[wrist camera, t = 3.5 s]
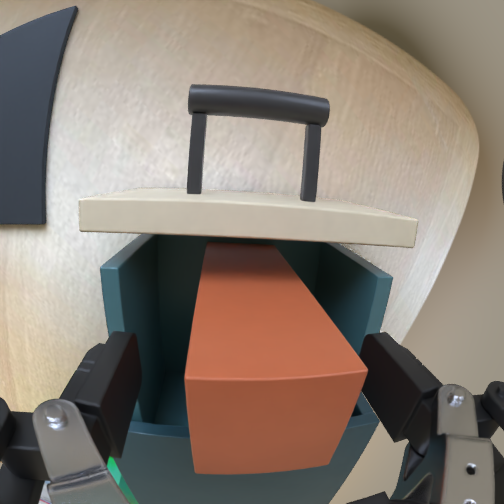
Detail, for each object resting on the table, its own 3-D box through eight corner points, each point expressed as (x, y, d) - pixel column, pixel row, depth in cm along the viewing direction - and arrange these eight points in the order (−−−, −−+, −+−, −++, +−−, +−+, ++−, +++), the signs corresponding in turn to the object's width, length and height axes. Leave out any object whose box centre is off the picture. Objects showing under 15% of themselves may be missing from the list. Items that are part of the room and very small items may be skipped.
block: (206, 241, 17) (184, 377, 5) (274, 244, 17) (369, 369, 6) (205, 304, 18) (194, 474, 6) (268, 305, 18) (328, 465, 7)
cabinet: (139, 327, 20) (97, 425, 10) (323, 331, 21) (380, 421, 12) (160, 442, 23) (150, 522, 14) (294, 442, 25) (317, 518, 15)
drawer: (145, 111, 15) (91, 66, 7) (346, 128, 17) (425, 104, 9) (149, 369, 20) (126, 451, 12) (312, 371, 21) (347, 447, 13)
